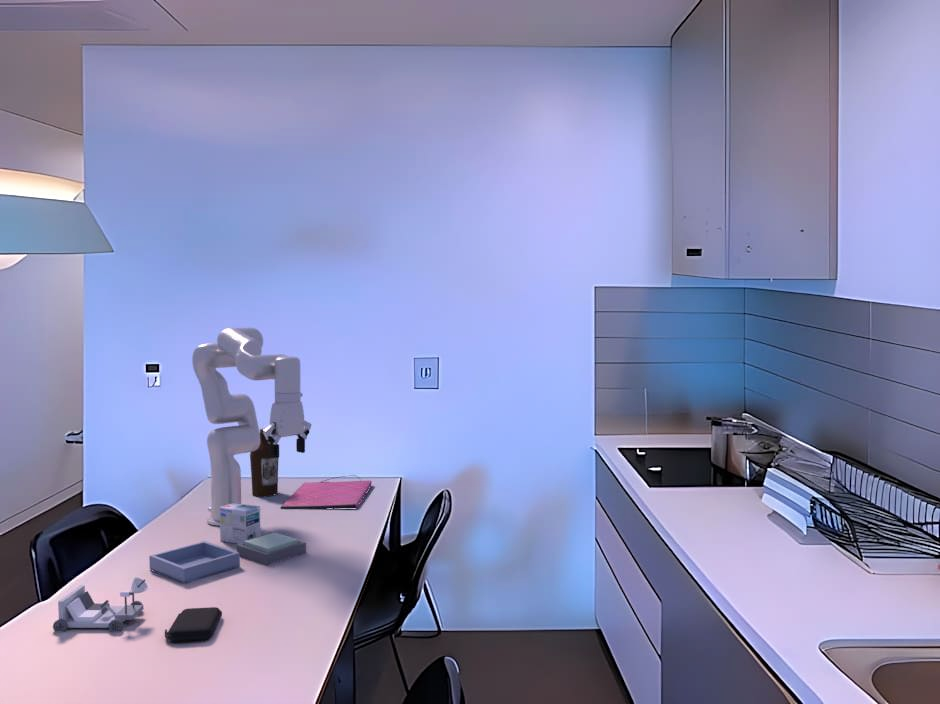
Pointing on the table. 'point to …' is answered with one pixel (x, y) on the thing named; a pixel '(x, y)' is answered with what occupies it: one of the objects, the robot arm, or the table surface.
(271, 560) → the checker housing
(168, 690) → the table surface
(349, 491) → the laptop bag
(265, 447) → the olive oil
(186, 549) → the tray
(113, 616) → the toy car
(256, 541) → the pad
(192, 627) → the carrying case or bag
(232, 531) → the light bulb box
